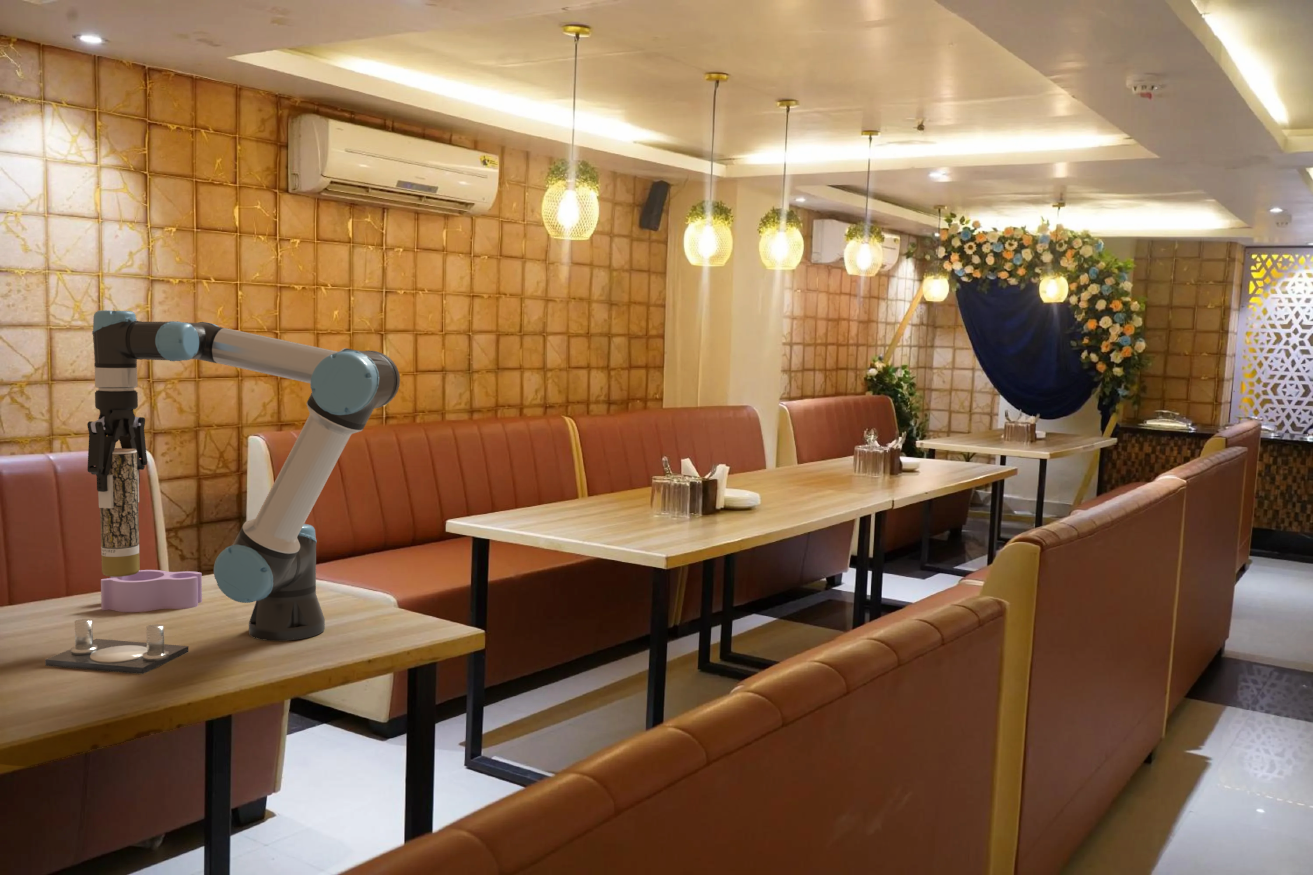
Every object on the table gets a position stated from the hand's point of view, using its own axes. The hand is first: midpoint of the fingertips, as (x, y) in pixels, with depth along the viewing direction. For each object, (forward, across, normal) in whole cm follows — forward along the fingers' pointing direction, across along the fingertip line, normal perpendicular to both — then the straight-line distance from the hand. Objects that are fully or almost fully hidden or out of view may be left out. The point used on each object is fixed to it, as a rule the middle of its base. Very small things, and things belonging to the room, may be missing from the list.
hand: (119, 504), depth 211 cm
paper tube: (+14, 0, 0) cm, 14 cm away
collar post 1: (+27, +11, 0) cm, 29 cm away
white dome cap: (+27, +11, +8) cm, 30 cm away
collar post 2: (+27, +11, +15) cm, 33 cm away
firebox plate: (+28, +10, +7) cm, 30 cm away
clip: (+28, -27, -13) cm, 41 cm away
